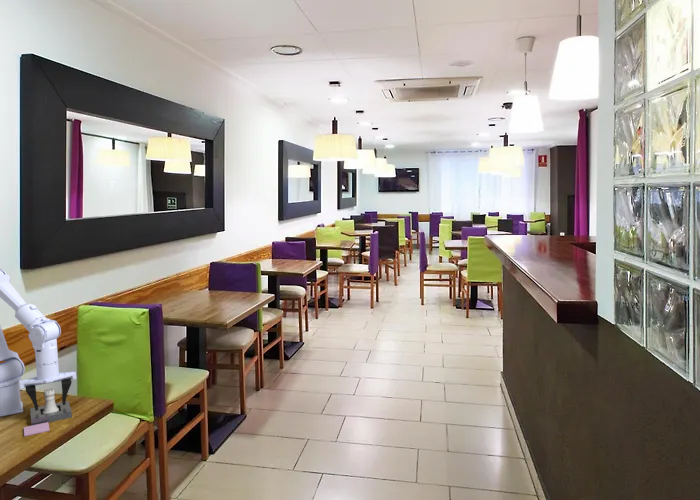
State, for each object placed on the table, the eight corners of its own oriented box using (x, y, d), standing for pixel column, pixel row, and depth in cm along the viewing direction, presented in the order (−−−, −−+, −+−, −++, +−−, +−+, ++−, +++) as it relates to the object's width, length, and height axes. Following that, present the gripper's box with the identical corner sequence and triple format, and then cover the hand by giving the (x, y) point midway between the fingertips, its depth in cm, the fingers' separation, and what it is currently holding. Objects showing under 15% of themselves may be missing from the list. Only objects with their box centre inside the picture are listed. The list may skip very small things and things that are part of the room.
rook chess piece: (51, 419, 151) (49, 393, 150) (38, 418, 152) (36, 392, 151) (63, 413, 155) (61, 387, 154) (50, 412, 156) (48, 386, 155)
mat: (23, 428, 144) (23, 427, 144) (48, 423, 148) (48, 422, 148) (24, 436, 140) (24, 435, 139) (49, 430, 143) (49, 429, 143)
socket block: (30, 414, 155) (30, 408, 155) (68, 406, 160) (68, 400, 160) (31, 425, 146) (31, 419, 146) (71, 417, 152) (71, 411, 152)
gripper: (18, 370, 145) (21, 416, 146) (76, 361, 153) (79, 405, 154) (18, 364, 151) (21, 409, 152) (73, 355, 158) (76, 398, 160)
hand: (50, 406), depth 153 cm, fingers open, 6 cm apart
